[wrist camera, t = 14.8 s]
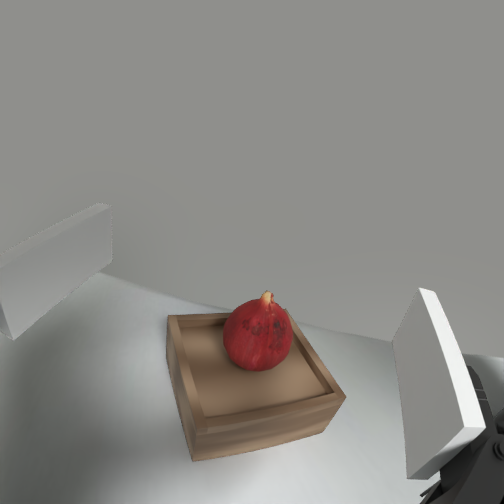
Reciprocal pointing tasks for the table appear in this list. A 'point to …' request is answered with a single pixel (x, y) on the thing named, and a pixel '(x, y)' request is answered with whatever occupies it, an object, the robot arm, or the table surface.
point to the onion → (258, 334)
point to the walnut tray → (244, 391)
